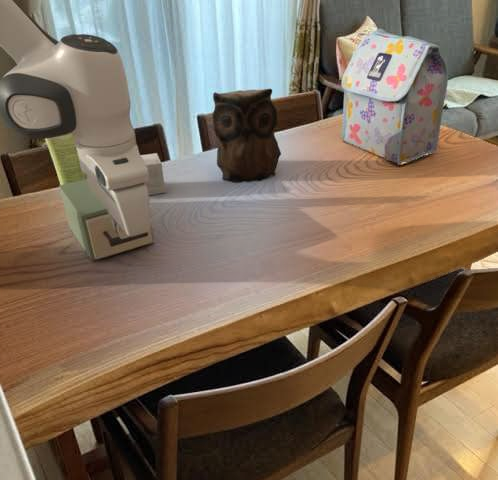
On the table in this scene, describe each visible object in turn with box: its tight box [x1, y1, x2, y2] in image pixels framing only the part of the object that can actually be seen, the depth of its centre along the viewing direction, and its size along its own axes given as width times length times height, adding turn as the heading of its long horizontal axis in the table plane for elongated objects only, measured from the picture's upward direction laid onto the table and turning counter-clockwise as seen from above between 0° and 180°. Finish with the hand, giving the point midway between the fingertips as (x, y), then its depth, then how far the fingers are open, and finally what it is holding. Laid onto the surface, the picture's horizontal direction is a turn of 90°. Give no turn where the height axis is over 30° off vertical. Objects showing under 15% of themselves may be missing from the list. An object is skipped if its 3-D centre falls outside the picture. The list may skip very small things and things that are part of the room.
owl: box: [212, 88, 282, 184], centre depth 123 cm, size 13×13×20 cm
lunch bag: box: [340, 28, 449, 166], centre depth 131 cm, size 22×17×26 cm
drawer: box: [86, 213, 153, 260], centre depth 103 cm, size 18×11×8 cm, turn 31°
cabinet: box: [58, 178, 155, 262], centre depth 106 cm, size 15×13×10 cm
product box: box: [140, 152, 166, 196], centre depth 122 cm, size 6×6×7 cm
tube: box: [44, 133, 87, 185], centre depth 111 cm, size 6×5×20 cm
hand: (122, 234), depth 91 cm, fingers closed
